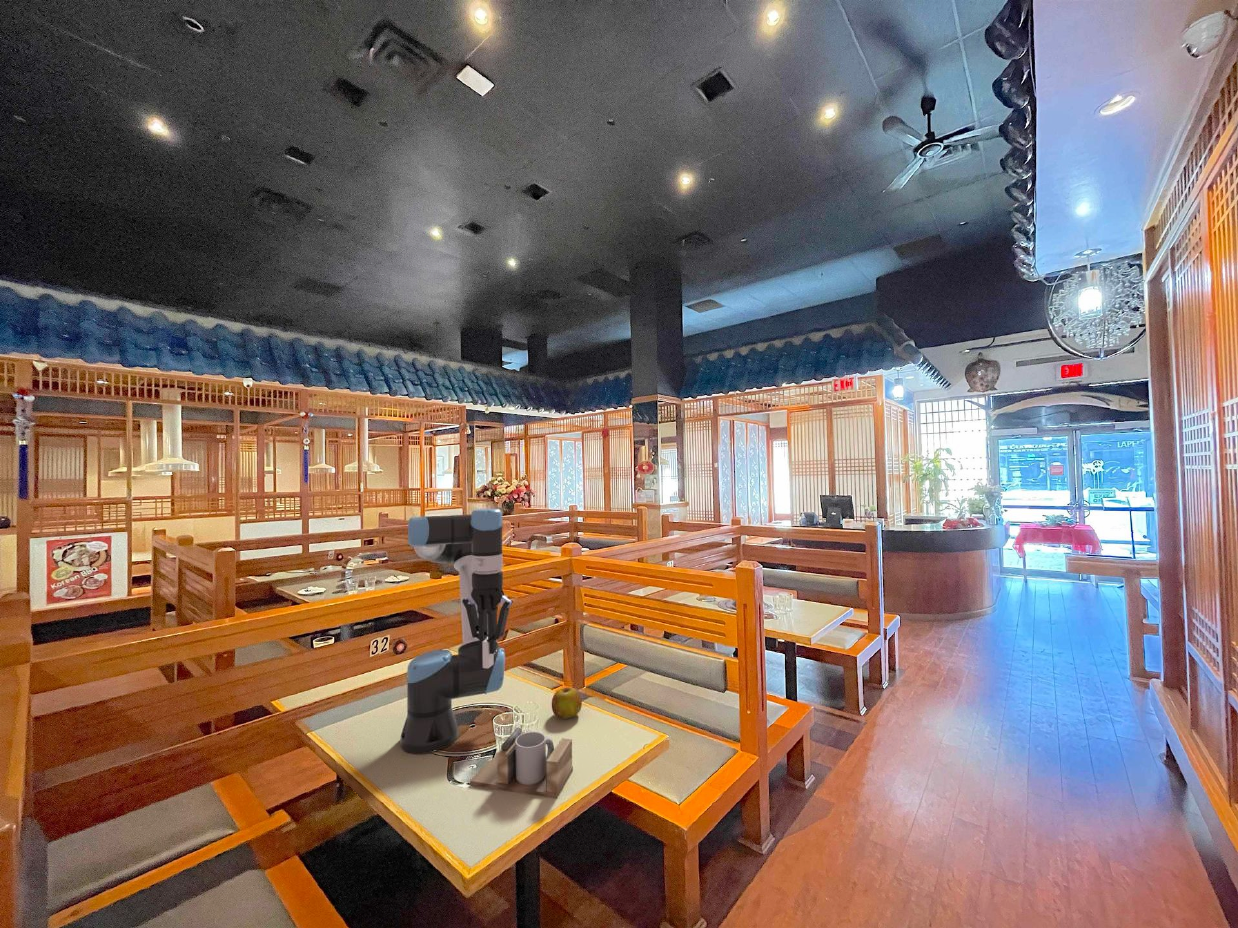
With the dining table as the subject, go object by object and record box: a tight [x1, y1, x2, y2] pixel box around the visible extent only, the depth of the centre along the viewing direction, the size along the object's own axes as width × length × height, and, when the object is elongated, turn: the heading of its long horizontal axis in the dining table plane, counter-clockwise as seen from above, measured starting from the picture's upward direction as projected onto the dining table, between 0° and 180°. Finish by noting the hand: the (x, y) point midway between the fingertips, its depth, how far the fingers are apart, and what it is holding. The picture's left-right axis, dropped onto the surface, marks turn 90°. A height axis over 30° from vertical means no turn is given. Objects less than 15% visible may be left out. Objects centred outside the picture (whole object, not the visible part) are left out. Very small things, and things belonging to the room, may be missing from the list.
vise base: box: [469, 737, 574, 799], centre depth 123 cm, size 22×11×8 cm, turn 76°
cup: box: [515, 731, 555, 785], centre depth 123 cm, size 7×10×9 cm
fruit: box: [551, 687, 583, 720], centre depth 153 cm, size 10×9×8 cm
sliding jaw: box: [496, 726, 526, 784], centre depth 124 cm, size 3×10×9 cm, turn 166°
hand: (488, 665), depth 125 cm, fingers closed
